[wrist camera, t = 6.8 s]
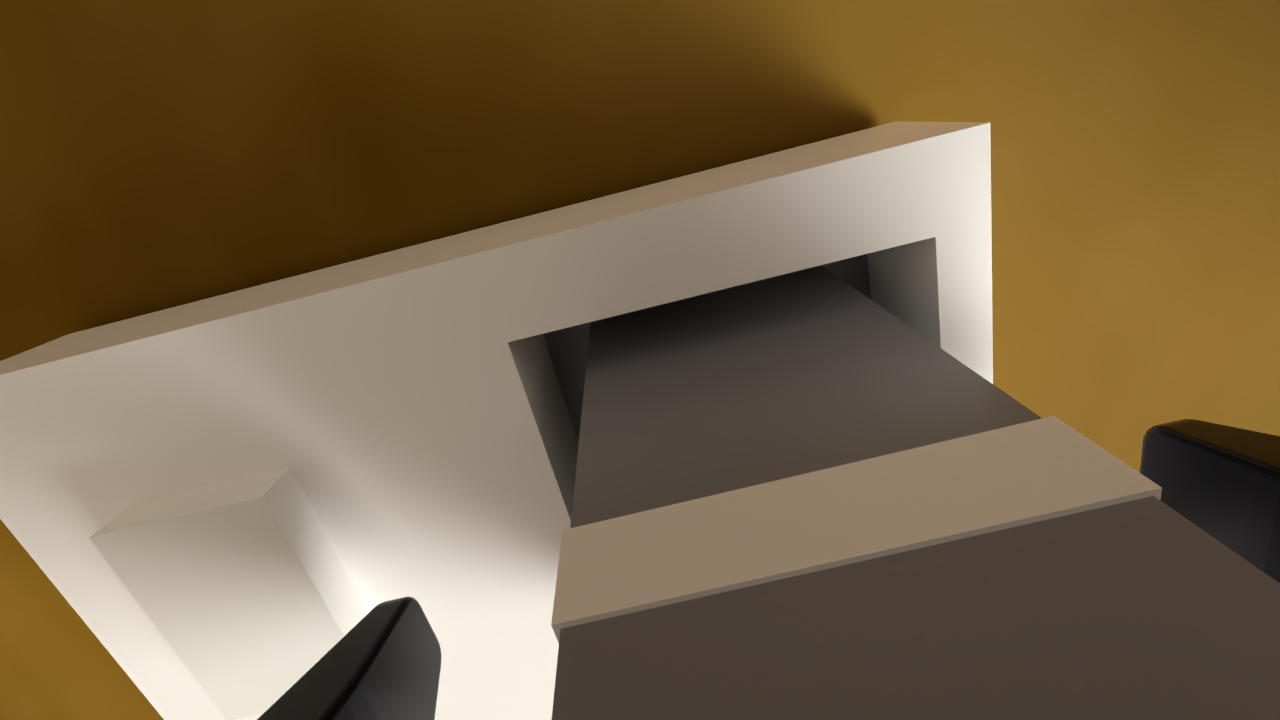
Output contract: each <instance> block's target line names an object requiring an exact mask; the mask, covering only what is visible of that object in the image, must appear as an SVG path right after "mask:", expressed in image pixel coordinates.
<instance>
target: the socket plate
mask: <svg viewBox="0 0 1280 720" xmlns="http://www.w3.org/2000/svg"><path fill="white" fill-rule="evenodd" d="M818 266H823V267H824V268H826V269H827V270H829V271H830V272H832V273H833V274H835V275H836V276H837V277H839V278H840V279H842V280H843V281H845V282H846V283H847V284H849V285H850V286H852V287H853V288H855V289H856V290H858V291H859V292H860V293H862V294H863V295H865V296H866V297H868V298H869V299H871V300H872V301H873V302H875V303H876V304H878V305H879V306H881V307H882V308H884V309H885V310H886V311H888V312H889V313H891V314H892V315H894V316H895V317H896V318H898V319H899V320H901V321H902V322H904V323H905V324H907V325H908V326H909V327H911V328H912V329H914V330H915V331H917V332H918V333H920V334H921V335H922V336H924V337H925V338H927V339H928V340H930V341H931V342H933V343H934V344H935V345H937V346H938V347H940V348H941V349H943V350H944V351H946V352H947V353H948V354H950V355H951V356H953V357H954V358H956V359H957V360H958V361H960V362H961V363H963V364H964V365H966V366H967V367H969V368H970V369H971V370H973V371H974V372H976V373H977V374H979V375H980V376H982V377H983V378H984V379H986V380H987V381H989V382H990V383H992V384H993V336H992V239H991V142H990V122H892V123H888V124H884V125H880V126H876V127H872V128H868V129H865V130H861V131H857V132H853V133H849V134H845V135H841V136H837V137H833V138H830V139H826V140H822V141H818V142H814V143H810V144H806V145H802V146H798V147H795V148H791V149H787V150H783V151H779V152H775V153H771V154H767V155H763V156H760V157H756V158H752V159H748V160H744V161H740V162H736V163H732V164H728V165H724V166H721V167H717V168H713V169H709V170H705V171H701V172H697V173H693V174H689V175H686V176H682V177H678V178H674V179H670V180H666V181H662V182H658V183H654V184H651V185H647V186H643V187H639V188H635V189H631V190H627V191H623V192H619V193H616V194H612V195H608V196H604V197H600V198H596V199H592V200H588V201H584V202H581V203H577V204H573V205H569V206H565V207H561V208H557V209H553V210H549V211H546V212H542V213H538V214H534V215H530V216H526V217H522V218H518V219H514V220H511V221H507V222H503V223H499V224H495V225H491V226H487V227H483V228H479V229H476V230H472V231H468V232H464V233H460V234H456V235H452V236H448V237H444V238H441V239H437V240H433V241H429V242H425V243H421V244H417V245H413V246H409V247H405V248H402V249H398V250H394V251H390V252H386V253H382V254H378V255H374V256H370V257H367V258H363V259H359V260H355V261H351V262H347V263H343V264H339V265H335V266H332V267H328V268H324V269H320V270H316V271H312V272H308V273H304V274H300V275H297V276H293V277H289V278H285V279H281V280H277V281H273V282H269V283H265V284H262V285H258V286H254V287H250V288H246V289H242V290H238V291H234V292H230V293H227V294H223V295H219V296H215V297H211V298H207V299H203V300H199V301H195V302H192V303H188V304H184V305H180V306H176V307H172V308H168V309H164V310H160V311H157V312H153V313H149V314H145V315H141V316H137V317H133V318H129V319H125V320H122V321H118V322H114V323H110V324H106V325H102V326H98V327H94V328H90V329H86V330H83V331H79V332H75V333H71V334H68V335H65V336H63V337H60V338H57V339H55V340H52V341H50V342H47V343H45V344H42V345H40V346H37V347H35V348H32V349H30V350H27V351H25V352H22V353H20V354H17V355H15V356H12V357H10V358H7V359H5V360H2V361H0V519H1V520H2V522H3V523H4V524H5V525H6V526H7V528H8V529H9V530H10V531H11V533H12V534H13V535H14V536H15V537H16V539H17V540H18V541H19V542H20V544H21V545H22V546H23V547H24V548H25V550H26V551H27V552H28V553H29V555H30V556H31V557H32V558H33V560H34V561H35V562H36V563H37V564H38V566H39V567H40V568H41V569H42V571H43V572H44V573H45V574H46V575H47V577H48V578H49V579H50V580H51V582H52V583H53V584H54V585H55V587H56V588H57V589H58V590H59V591H60V593H61V594H62V595H63V596H64V598H65V599H66V600H67V601H68V602H69V604H70V605H71V606H72V607H73V609H74V610H75V611H76V612H77V614H78V615H79V616H80V617H81V618H82V620H83V621H84V622H85V623H86V625H87V626H88V627H89V628H90V629H91V631H92V632H93V633H94V634H95V636H96V637H97V638H98V639H99V640H100V642H101V643H102V644H103V645H104V647H105V648H106V649H107V650H108V652H109V653H110V654H111V655H112V656H113V658H114V659H115V660H116V661H117V663H118V664H119V665H120V666H121V667H122V669H123V670H124V671H125V672H126V674H127V675H128V676H129V677H130V679H131V680H132V681H133V682H134V683H135V685H136V686H137V687H138V688H139V690H140V691H141V692H142V693H143V694H144V696H145V697H146V698H147V699H148V701H149V702H150V703H151V704H152V705H153V707H154V708H155V709H156V710H157V712H158V713H159V714H160V715H161V717H162V718H163V719H164V720H257V719H258V718H259V717H260V716H261V715H262V714H263V713H264V712H265V711H266V710H268V709H269V708H270V707H271V706H272V705H273V704H274V703H275V702H276V701H277V700H278V699H279V698H280V697H281V696H282V695H283V694H284V693H285V692H286V691H287V690H288V689H290V688H291V687H292V686H293V685H294V684H295V683H296V682H297V681H298V680H299V679H300V678H301V677H302V676H303V675H304V674H305V673H306V672H307V671H308V670H309V669H310V668H312V667H313V666H314V665H315V664H316V663H317V662H318V661H319V660H320V659H321V658H322V657H323V656H324V655H325V654H326V653H327V652H328V651H329V650H330V649H331V648H332V647H334V646H335V645H336V644H337V643H338V642H339V641H340V640H341V639H342V638H343V637H344V636H345V635H346V634H347V633H348V632H349V631H350V630H351V629H352V628H353V627H354V626H356V625H357V624H358V623H359V622H360V621H361V620H362V619H363V618H364V617H365V616H366V615H367V614H368V613H369V612H370V611H371V610H372V609H373V608H374V607H376V606H377V605H378V604H380V603H382V602H385V601H389V600H394V599H398V598H402V597H413V598H415V599H416V600H417V601H418V603H419V604H420V606H421V608H422V610H423V612H424V614H425V616H426V617H427V619H428V621H429V623H430V625H431V627H432V629H433V631H434V633H435V635H436V637H437V639H438V641H439V644H440V648H441V670H440V678H439V686H438V695H437V703H436V711H435V720H552V710H553V700H554V689H555V679H556V669H557V659H558V649H559V643H558V640H557V638H556V636H555V633H554V631H553V628H552V626H551V623H552V614H553V606H554V597H555V589H556V580H557V572H558V563H559V555H560V546H561V538H562V530H565V529H570V527H571V516H572V506H573V496H574V486H575V476H576V466H577V455H578V445H579V435H580V425H581V415H582V404H583V394H584V384H585V374H586V364H587V354H588V343H589V333H590V323H594V322H598V321H602V320H606V319H610V318H614V317H618V316H622V315H626V314H630V313H634V312H638V311H642V310H646V309H650V308H654V307H658V306H662V305H666V304H670V303H674V302H678V301H682V300H686V299H690V298H694V297H698V296H702V295H706V294H710V293H714V292H718V291H722V290H726V289H730V288H734V287H738V286H742V285H746V284H750V283H754V282H758V281H762V280H766V279H770V278H774V277H778V276H782V275H786V274H790V273H794V272H798V271H802V270H806V269H810V268H814V267H818Z"/></svg>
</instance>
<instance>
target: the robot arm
mask: <svg viewBox="0 0 1280 720" xmlns="http://www.w3.org/2000/svg"><path fill="white" fill-rule="evenodd" d="M1140 473H1141V474H1142V475H1144V476H1145V477H1147V478H1148V479H1150V480H1151V481H1153V482H1154V483H1156V484H1157V485H1159V486H1160V487H1162V492H1161V501H1162V502H1163V503H1165V504H1166V505H1168V506H1169V507H1170V508H1172V509H1173V510H1175V511H1176V512H1178V513H1179V514H1181V515H1182V516H1183V517H1185V518H1186V519H1188V520H1189V521H1191V522H1192V523H1193V524H1195V525H1196V526H1198V527H1199V528H1201V529H1202V530H1204V531H1205V532H1206V533H1208V534H1209V535H1211V536H1212V537H1214V538H1215V539H1217V540H1218V541H1219V542H1221V543H1222V544H1224V545H1225V546H1227V547H1228V548H1230V549H1231V550H1232V551H1234V552H1235V553H1237V554H1238V555H1240V556H1241V557H1242V558H1244V559H1245V560H1247V561H1248V562H1250V563H1251V564H1253V565H1254V566H1255V567H1257V568H1258V569H1260V570H1261V571H1263V572H1264V573H1266V574H1267V575H1268V576H1270V577H1271V578H1273V579H1274V580H1276V581H1277V582H1279V583H1280V436H1276V435H1270V434H1265V433H1260V432H1255V431H1250V430H1245V429H1240V428H1235V427H1230V426H1225V425H1220V424H1215V423H1210V422H1204V421H1199V420H1193V419H1183V420H1178V421H1173V422H1169V423H1165V424H1160V425H1156V426H1153V427H1152V428H1150V429H1148V431H1147V432H1146V434H1145V435H1144V439H1143V447H1142V457H1141V467H1140ZM440 670H441V648H440V644H439V641H438V639H437V637H436V635H435V633H434V631H433V629H432V627H431V625H430V623H429V621H428V619H427V617H426V616H425V614H424V612H423V610H422V608H421V606H420V604H419V603H418V601H417V600H416V599H415V598H413V597H402V598H398V599H394V600H389V601H385V602H382V603H380V604H378V605H377V606H376V607H374V608H373V609H372V610H371V611H370V612H369V613H368V614H367V615H366V616H365V617H364V618H363V619H362V620H361V621H360V622H359V623H358V624H357V625H356V626H354V627H353V628H352V629H351V630H350V631H349V632H348V633H347V634H346V635H345V636H344V637H343V638H342V639H341V640H340V641H339V642H338V643H337V644H336V645H335V646H334V647H332V648H331V649H330V650H329V651H328V652H327V653H326V654H325V655H324V656H323V657H322V658H321V659H320V660H319V661H318V662H317V663H316V664H315V665H314V666H313V667H312V668H310V669H309V670H308V671H307V672H306V673H305V674H304V675H303V676H302V677H301V678H300V679H299V680H298V681H297V682H296V683H295V684H294V685H293V686H292V687H291V688H290V689H288V690H287V691H286V692H285V693H284V694H283V695H282V696H281V697H280V698H279V699H278V700H277V701H276V702H275V703H274V704H273V705H272V706H271V707H270V708H269V709H268V710H266V711H265V712H264V713H263V714H262V715H261V716H260V717H259V718H258V719H257V720H435V711H436V703H437V695H438V686H439V678H440Z"/></svg>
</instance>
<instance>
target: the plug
mask: <svg viewBox="0 0 1280 720" xmlns="http://www.w3.org/2000/svg"><path fill="white" fill-rule="evenodd" d="M1161 492H1162V487H1160V486H1159V485H1157V484H1156V483H1154V482H1153V481H1151V480H1150V479H1148V478H1147V477H1145V476H1144V475H1142V474H1141V473H1139V472H1138V471H1136V470H1135V469H1133V468H1132V467H1130V466H1129V465H1127V464H1126V463H1124V462H1123V461H1121V460H1120V459H1118V458H1117V457H1115V456H1114V455H1112V454H1111V453H1109V452H1108V451H1106V450H1105V449H1103V448H1102V447H1100V446H1099V445H1097V444H1096V443H1094V442H1093V441H1091V440H1090V439H1088V438H1087V437H1085V436H1084V435H1082V434H1081V433H1079V432H1078V431H1076V430H1075V429H1073V428H1072V427H1070V426H1069V425H1067V424H1066V423H1064V422H1063V421H1061V420H1060V419H1058V418H1057V417H1055V416H1051V417H1046V418H1041V417H1039V416H1038V415H1036V414H1035V413H1033V412H1032V411H1031V410H1029V409H1028V408H1026V407H1025V406H1023V405H1022V404H1020V403H1019V402H1018V401H1016V400H1015V399H1013V398H1012V397H1010V396H1009V395H1008V394H1006V393H1005V392H1003V391H1002V390H1000V389H999V388H997V387H996V386H995V385H993V384H992V383H990V382H989V381H987V380H986V379H984V378H983V377H982V376H980V375H979V374H977V373H976V372H974V371H973V370H971V369H970V368H969V367H967V366H966V365H964V364H963V363H961V362H960V361H958V360H957V359H956V358H954V357H953V356H951V355H950V354H948V353H947V352H946V351H944V350H943V349H941V348H940V347H938V346H937V345H935V344H934V343H933V342H931V341H930V340H928V339H927V338H925V337H924V336H922V335H921V334H920V333H918V332H917V331H915V330H914V329H912V328H911V327H909V326H908V325H907V324H905V323H904V322H902V321H901V320H899V319H898V318H896V317H895V316H894V315H892V314H891V313H889V312H888V311H886V310H885V309H884V308H882V307H881V306H879V305H878V304H876V303H875V302H873V301H872V300H871V299H869V298H868V297H866V296H865V295H863V294H862V293H860V292H859V291H858V290H856V289H855V288H853V287H852V286H850V285H849V284H847V283H846V282H845V281H843V280H842V279H840V278H839V277H837V276H836V275H835V274H833V273H832V272H830V271H829V270H827V269H826V268H824V267H823V266H818V267H814V268H810V269H806V270H802V271H798V272H794V273H790V274H786V275H782V276H778V277H774V278H770V279H766V280H762V281H758V282H754V283H750V284H746V285H742V286H738V287H734V288H730V289H726V290H722V291H718V292H714V293H710V294H706V295H702V296H698V297H694V298H690V299H686V300H682V301H678V302H674V303H670V304H666V305H662V306H658V307H654V308H650V309H646V310H642V311H638V312H634V313H630V314H626V315H622V316H618V317H614V318H610V319H606V320H602V321H598V322H594V323H590V333H589V343H588V354H587V364H586V374H585V384H584V394H583V404H582V415H581V425H580V435H579V445H578V455H577V466H576V476H575V486H574V496H573V506H572V516H571V527H570V529H565V530H562V538H561V546H560V555H559V563H558V572H557V580H556V589H555V597H554V606H553V614H552V623H551V626H552V628H553V631H554V633H555V636H556V638H557V640H558V643H559V649H558V659H557V669H556V679H555V689H554V700H553V710H552V720H1280V583H1279V582H1277V581H1276V580H1274V579H1273V578H1271V577H1270V576H1268V575H1267V574H1266V573H1264V572H1263V571H1261V570H1260V569H1258V568H1257V567H1255V566H1254V565H1253V564H1251V563H1250V562H1248V561H1247V560H1245V559H1244V558H1242V557H1241V556H1240V555H1238V554H1237V553H1235V552H1234V551H1232V550H1231V549H1230V548H1228V547H1227V546H1225V545H1224V544H1222V543H1221V542H1219V541H1218V540H1217V539H1215V538H1214V537H1212V536H1211V535H1209V534H1208V533H1206V532H1205V531H1204V530H1202V529H1201V528H1199V527H1198V526H1196V525H1195V524H1193V523H1192V522H1191V521H1189V520H1188V519H1186V518H1185V517H1183V516H1182V515H1181V514H1179V513H1178V512H1176V511H1175V510H1173V509H1172V508H1170V507H1169V506H1168V505H1166V504H1165V503H1163V502H1162V501H1161Z"/></svg>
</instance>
